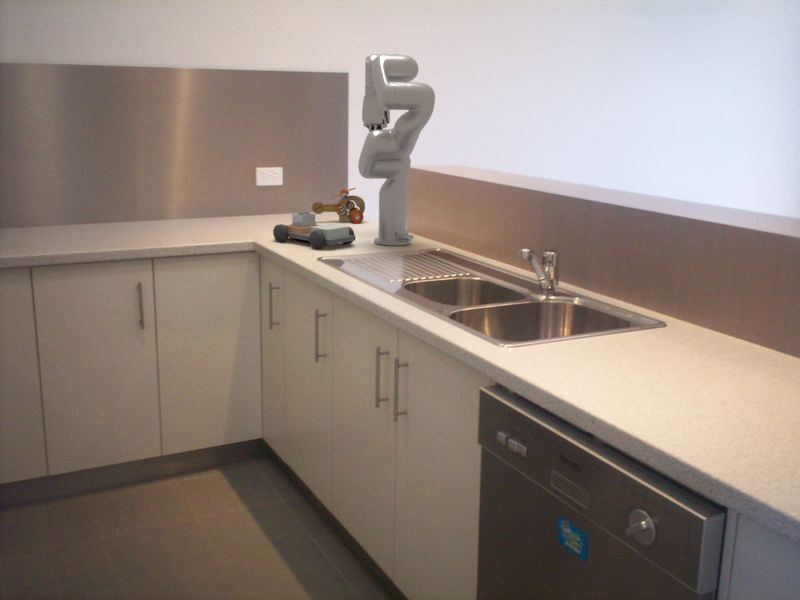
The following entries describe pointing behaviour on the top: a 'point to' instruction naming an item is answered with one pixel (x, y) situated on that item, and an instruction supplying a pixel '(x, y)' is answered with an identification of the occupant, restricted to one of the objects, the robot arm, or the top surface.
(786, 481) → the top surface
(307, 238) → the chassis
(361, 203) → the toy helicopter
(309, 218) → the engine block
